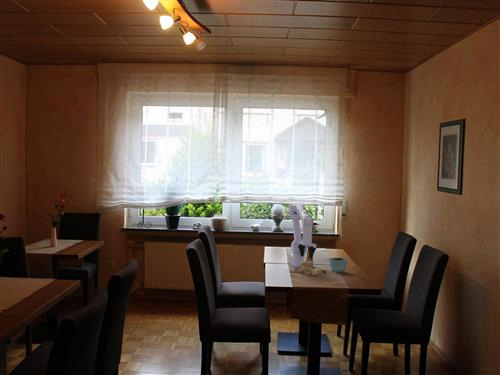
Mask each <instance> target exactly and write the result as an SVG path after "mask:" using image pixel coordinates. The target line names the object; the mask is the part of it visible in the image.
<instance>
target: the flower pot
mask: <svg viewBox="0 0 500 375" xmlns="http://www.w3.org/2000/svg"><path fill="white" fill-rule="evenodd" d="M347 265H348V259H345V258H343V257H329V266H330V269H331V271H332V272H334V273H344V272H345V271H346V269H347Z"/></svg>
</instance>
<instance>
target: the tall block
mask: <svg viewBox="0 0 500 375" xmlns="http://www.w3.org/2000/svg"><path fill="white" fill-rule="evenodd" d="M313 264H314V263H313V261H311V260H308V261H304V262H300V267H299V269H300V270H304V271H308V270H312V267H313Z"/></svg>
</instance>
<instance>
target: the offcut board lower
mask: <svg viewBox="0 0 500 375" xmlns="http://www.w3.org/2000/svg"><path fill="white" fill-rule="evenodd" d="M308 272H309V271H308ZM317 274H320V275H324V274H323V271H321V272H317V273H312V275H315V276H318V275H317Z"/></svg>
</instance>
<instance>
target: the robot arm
mask: <svg viewBox="0 0 500 375" xmlns="http://www.w3.org/2000/svg"><path fill="white" fill-rule="evenodd" d="M287 209H288V216H289V217H291V223H292V230H293V239H294V240H293V241H292V242H291V244H290V247H291V248H290V251H291V254H290V255H289V256H290V257H289V266H292V267H295V268H300V262H305V255H306V254H307V253H308V258H309V259H311V260H312V259H314V255H315V252H316V250H317V244H316V243H313V242H312V239H313V238H312V237H313V236H312V235H313V234H312V233H313V226H314V224H315V223H314V218H313V217H311V216H310V215H309V213H308V212H307V211H305V204H304V203H303V202H299V203H298V202H296V203H295V202H294V203H293V202H290V203H288V208H287ZM300 220H301V223H300ZM300 224H301V225H300ZM301 230H302V231H301Z"/></svg>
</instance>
